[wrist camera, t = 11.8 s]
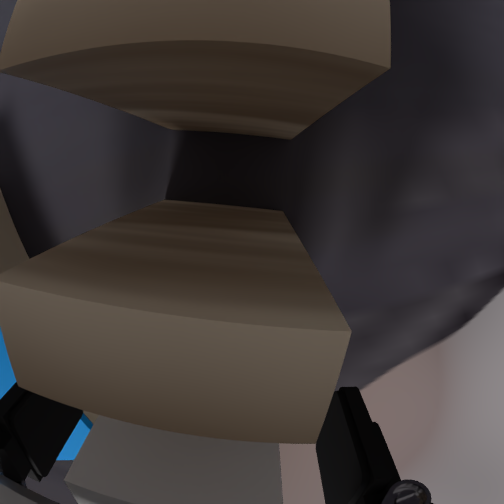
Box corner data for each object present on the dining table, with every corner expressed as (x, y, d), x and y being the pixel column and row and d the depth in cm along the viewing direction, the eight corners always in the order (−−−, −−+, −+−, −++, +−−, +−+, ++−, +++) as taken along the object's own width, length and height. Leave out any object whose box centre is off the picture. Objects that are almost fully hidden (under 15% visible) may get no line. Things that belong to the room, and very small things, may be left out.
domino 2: (164, 199, 13) (-10, 279, 3) (282, 211, 13) (352, 331, 3) (162, 244, 14) (18, 386, 4) (276, 257, 14) (315, 443, 4)
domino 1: (176, 85, 12) (34, -39, 2) (295, 94, 12) (384, -54, 2) (170, 129, 12) (-4, 70, 3) (291, 139, 12) (390, 68, 3)
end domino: (162, 307, 14) (63, 480, 5) (269, 319, 14) (284, 521, 5) (163, 343, 15) (85, 515, 5) (264, 355, 15) (270, 547, 5)
